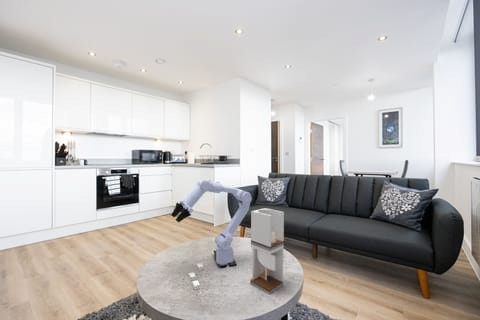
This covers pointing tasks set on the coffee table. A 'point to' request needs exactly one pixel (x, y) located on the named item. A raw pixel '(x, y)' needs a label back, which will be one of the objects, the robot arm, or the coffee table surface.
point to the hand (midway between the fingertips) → (174, 218)
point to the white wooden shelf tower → (267, 249)
